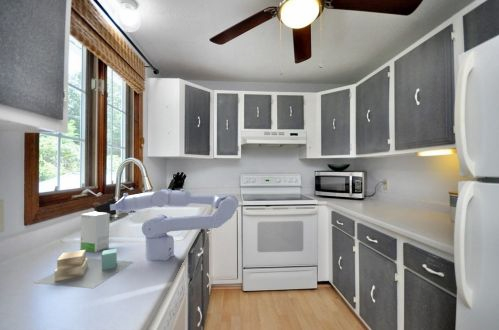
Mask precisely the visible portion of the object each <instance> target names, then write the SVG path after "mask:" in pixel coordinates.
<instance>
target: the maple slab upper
mask: <svg viewBox="0 0 499 330" xmlns="http://www.w3.org/2000/svg"><path fill="white" fill-rule="evenodd" d="M86 255H87V253H86V250H80V249H79V250H74V251H67V252H63V253H61V255H60V256H59V257H58V258H57V260H56V263H57V265H56V269H57V270H61V269H66V268H72V267H77V266H82V265H83V263H84V261H85V259H86V258H87V256H86Z"/></svg>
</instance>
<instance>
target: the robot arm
mask: <svg viewBox="0 0 499 330" xmlns="http://www.w3.org/2000/svg"><path fill="white" fill-rule="evenodd" d="M122 195H123V196H122V197H121V198H120V199H118V200H116V198H110V199H108V200H107V201H106V202H104V203H100V205H99V206H97V207H96V208H97V212H102V213H109V214H110V215H112V216H113V215H117V211H121V212H123V213H124V212H125V213H129V212H132V211H137V210H143V209H150V208H153V207H159V208H162V207H165V206H170V207H171V206H172V207H187V206H189V205H190V204H201V205H210V206H212V208H213V209H214V210H215V211H214V213H212V214H200V215H188V216H184V215H183V216H175V217H174V216H171V215H169V216H168V215H165V214H158V215H156V216H154V217H152V218H150V219H148V220H145V221H144V222H143V223H142V226H141V232H142V234H143V236H145V259H146V260H147V261H167V260H169V258H171V257H172V258H173V257H175V256H176V254H175V241H174V240H175V239H174V237H173V235H170V234H168V233H169V232H178V231H192V230H206V229H218V228H221V227H222V226H223V225H224V224H226V222H228V221H230V220H231V219H232V218H233V216H234V214H235V213H236V211H237V209H238V207H239V200H238V199H237V197H236V196H234V195H232V194H231V195H227V194H221V193H220V194H219V193H214V194H213V193H208V194H207V193H203V194H200V193H198V194H197V193H195V194H194V193H193V194H192V193H191V192H189V191H188V190H185V188H180V189H179V190H172V188H168V189H165V188H162V189H161V190H157V191H152V192H151V191H150V192H143V193H137V194H131V195H129V193H128V192H124V193H123V194H122Z"/></svg>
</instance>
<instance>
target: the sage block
mask: <svg viewBox="0 0 499 330" xmlns="http://www.w3.org/2000/svg"><path fill="white" fill-rule="evenodd" d="M117 251H118V249H117V248H112V249H106V250H105V249H104V250H103V251H102V253H101V260H102V270H106V269H111V268H116V265H117V261H118V256H117V254H118V252H117Z"/></svg>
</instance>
